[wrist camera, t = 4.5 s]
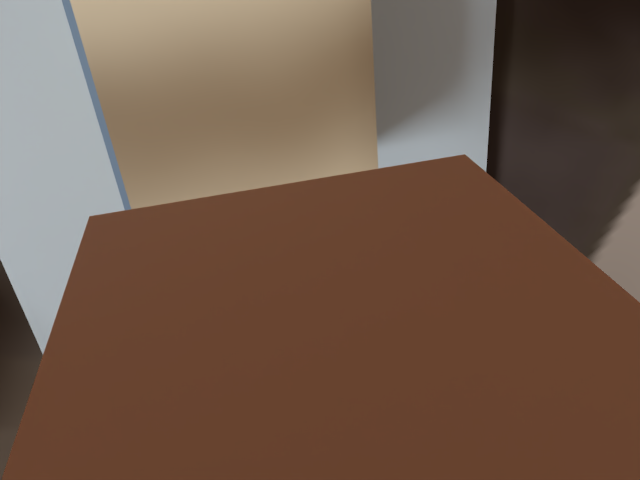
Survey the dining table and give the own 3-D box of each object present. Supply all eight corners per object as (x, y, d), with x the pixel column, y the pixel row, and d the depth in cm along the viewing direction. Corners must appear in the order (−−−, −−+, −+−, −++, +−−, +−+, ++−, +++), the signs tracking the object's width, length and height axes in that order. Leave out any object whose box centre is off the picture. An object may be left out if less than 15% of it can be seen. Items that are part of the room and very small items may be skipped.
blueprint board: (463, 361, 25) (474, 377, 24) (95, 443, 23) (91, 464, 22) (486, -114, 16) (504, -117, 15) (-119, -52, 14) (-140, -52, 13)
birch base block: (343, 156, 18) (380, 209, 14) (153, 188, 17) (143, 251, 13) (326, -55, 15) (368, -53, 11) (95, -29, 14) (64, -18, 10)
